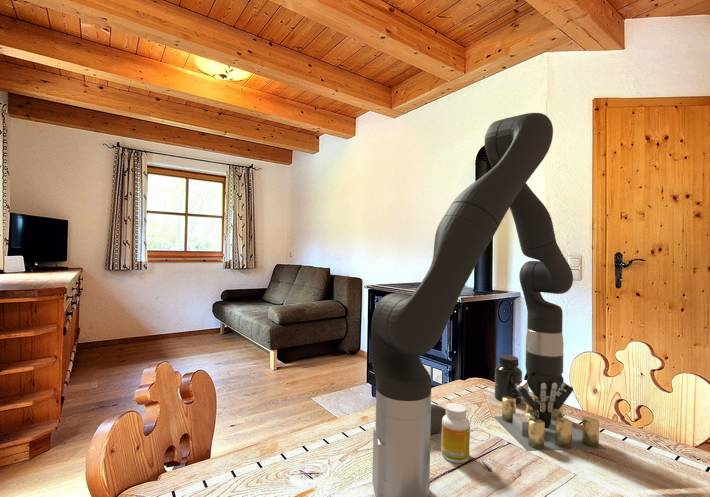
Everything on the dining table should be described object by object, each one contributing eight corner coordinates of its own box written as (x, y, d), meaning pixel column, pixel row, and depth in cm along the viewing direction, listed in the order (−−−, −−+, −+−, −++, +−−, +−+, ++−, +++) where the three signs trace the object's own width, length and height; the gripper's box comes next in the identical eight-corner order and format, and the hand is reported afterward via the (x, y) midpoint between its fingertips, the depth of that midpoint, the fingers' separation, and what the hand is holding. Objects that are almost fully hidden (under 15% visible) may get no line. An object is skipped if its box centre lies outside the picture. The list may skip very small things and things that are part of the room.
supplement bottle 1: (470, 465, 69) (471, 414, 69) (441, 461, 70) (442, 411, 70) (467, 450, 75) (468, 403, 75) (440, 446, 76) (441, 400, 76)
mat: (498, 454, 73) (498, 451, 73) (469, 419, 88) (469, 416, 88) (605, 451, 75) (605, 448, 75) (559, 417, 90) (559, 414, 90)
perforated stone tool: (446, 426, 85) (447, 396, 85) (456, 438, 80) (456, 406, 80) (383, 429, 83) (384, 399, 83) (389, 442, 77) (389, 409, 77)
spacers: (533, 449, 74) (533, 425, 74) (499, 416, 89) (500, 396, 89) (602, 447, 75) (602, 423, 75) (558, 415, 90) (558, 395, 90)
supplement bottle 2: (489, 398, 101) (489, 355, 101) (506, 394, 104) (507, 352, 104) (508, 408, 95) (509, 362, 95) (527, 403, 98) (528, 359, 98)
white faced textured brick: (522, 435, 80) (522, 421, 80) (512, 426, 84) (512, 413, 84) (539, 435, 80) (539, 421, 80) (529, 426, 84) (529, 413, 84)
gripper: (525, 355, 77) (523, 436, 78) (583, 354, 79) (582, 434, 79) (507, 345, 85) (506, 419, 85) (561, 345, 86) (560, 418, 86)
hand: (543, 426), depth 82 cm, fingers closed
